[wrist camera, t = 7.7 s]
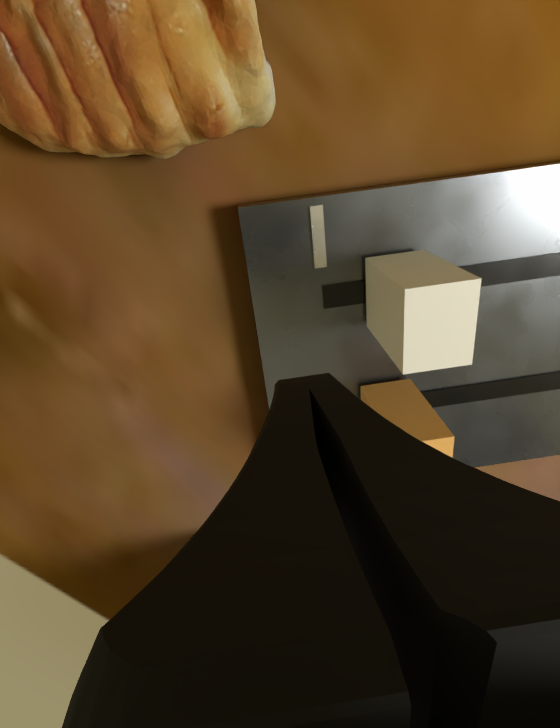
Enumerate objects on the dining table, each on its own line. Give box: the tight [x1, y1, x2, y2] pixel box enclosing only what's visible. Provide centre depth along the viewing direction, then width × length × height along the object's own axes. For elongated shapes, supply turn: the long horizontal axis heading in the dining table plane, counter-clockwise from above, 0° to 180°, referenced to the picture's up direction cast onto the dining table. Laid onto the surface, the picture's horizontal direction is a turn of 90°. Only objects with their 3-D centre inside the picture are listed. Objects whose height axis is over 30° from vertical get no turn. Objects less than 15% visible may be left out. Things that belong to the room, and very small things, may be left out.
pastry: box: [0, 0, 276, 159], centre depth 13 cm, size 9×7×4 cm
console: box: [238, 161, 560, 468], centre depth 20 cm, size 15×22×1 cm
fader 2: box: [360, 379, 455, 458], centre depth 18 cm, size 3×2×4 cm
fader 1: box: [365, 250, 482, 374], centre depth 15 cm, size 3×2×4 cm
